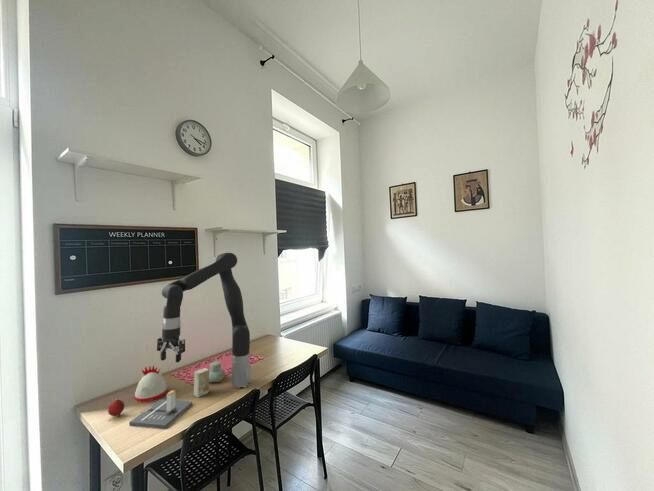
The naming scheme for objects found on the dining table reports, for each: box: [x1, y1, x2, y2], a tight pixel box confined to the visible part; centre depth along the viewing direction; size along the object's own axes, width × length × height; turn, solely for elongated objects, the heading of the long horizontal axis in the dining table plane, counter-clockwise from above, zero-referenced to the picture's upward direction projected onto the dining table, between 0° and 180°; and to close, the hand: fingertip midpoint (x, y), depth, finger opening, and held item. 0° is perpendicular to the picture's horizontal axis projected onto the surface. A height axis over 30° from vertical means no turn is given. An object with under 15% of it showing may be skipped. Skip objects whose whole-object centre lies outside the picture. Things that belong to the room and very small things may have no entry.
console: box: [128, 398, 193, 430], centre depth 122 cm, size 17×18×2 cm
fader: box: [165, 390, 176, 414], centre depth 121 cm, size 2×5×8 cm, turn 173°
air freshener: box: [209, 361, 226, 383], centre depth 155 cm, size 11×8×10 cm
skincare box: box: [193, 367, 210, 398], centre depth 140 cm, size 6×4×12 cm
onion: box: [107, 398, 125, 418], centre depth 121 cm, size 6×6×8 cm
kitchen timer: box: [134, 365, 168, 403], centre depth 139 cm, size 14×14×15 cm
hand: (170, 360), depth 126 cm, fingers open, 8 cm apart
